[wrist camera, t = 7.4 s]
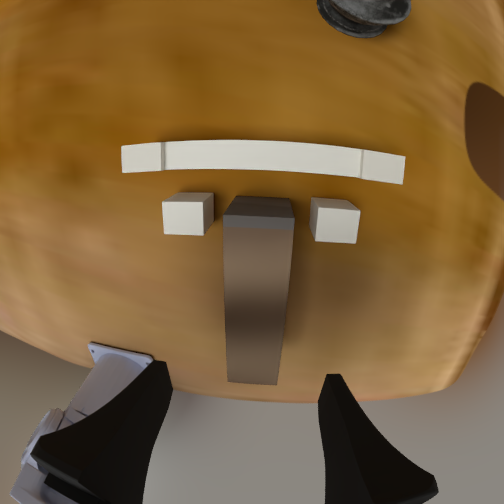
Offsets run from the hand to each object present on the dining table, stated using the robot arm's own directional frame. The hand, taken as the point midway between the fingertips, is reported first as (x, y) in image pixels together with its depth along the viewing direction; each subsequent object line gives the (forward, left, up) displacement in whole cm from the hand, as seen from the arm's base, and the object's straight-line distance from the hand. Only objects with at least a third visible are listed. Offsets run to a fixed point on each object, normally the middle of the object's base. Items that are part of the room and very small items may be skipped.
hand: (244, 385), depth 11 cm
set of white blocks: (+7, 0, -10) cm, 12 cm away
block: (0, 0, -10) cm, 10 cm away
